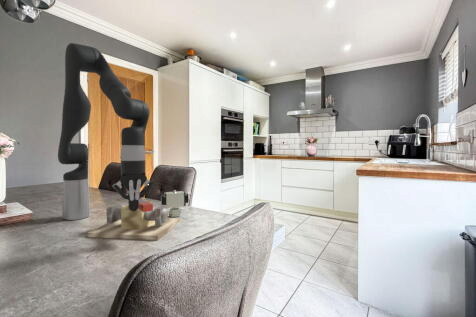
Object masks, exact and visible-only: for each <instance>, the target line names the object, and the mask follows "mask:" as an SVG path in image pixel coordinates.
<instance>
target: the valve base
mask: <svg viewBox="0 0 476 317" xmlns="http://www.w3.org/2000/svg"><path fill="white" fill-rule="evenodd" d="M105 208H106V209H105V210H106V224H103V225H101V226H99V227H97V228H94V229H93V230H90V231H88V232H87V238H103V239H104V238H105V239H121V240H122V239H126V240H127V239H128V240H141V241H142V240H143V241H144V240H147V241H159V240H160V239H161V238H162V237H163V236H165V235H166V234H167V233H168V232H170V231H171V230H172V229H174V227H176V226H177V225H178V224H179V223H181V218H180V217H169V210H168V208H167V205H161V204H160V205H159V206H157V207H155V208H154V207H153V211H147V212H142V211H141V210H140V209H139V208H138V209H137V211H131V210H130V209H129V205H128V204H126V205H123V206H122V203H115V204H111V205H110V206H107V207H105Z"/></svg>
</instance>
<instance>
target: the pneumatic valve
mask: <svg viewBox="0 0 476 317" xmlns="http://www.w3.org/2000/svg"><path fill="white" fill-rule="evenodd" d="M163 193H164V194H163V195H162V194H161V195H160V203H161V204H160V206H161V205H167V209H169V210H168V217H170V218H180V216H181V215H182V209H180V208H182V207H183V208H184V207H186V205H187V204H188V203H189V199H190V198H189V193H186V192H185V191H184V190H180V191H179V190H176V189H173V191H164V192H163Z"/></svg>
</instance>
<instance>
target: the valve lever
mask: <svg viewBox="0 0 476 317" xmlns="http://www.w3.org/2000/svg"><path fill="white" fill-rule="evenodd" d="M138 205H139V209H140V210H141V211H142V212H147V211H153V208H154V204H153V202H150V201H146V200H144V199H143V198H142V197H141V198H140V199H139V204H138Z"/></svg>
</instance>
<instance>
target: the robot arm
mask: <svg viewBox="0 0 476 317" xmlns="http://www.w3.org/2000/svg"><path fill="white" fill-rule="evenodd" d="M64 67H65V68H64V72H65V73H64V74H65V75H64V76H65V79H64V80H65V82H64V83H65V84H64V95H63V103H62V113H61V114H62V115H61V116H62V117H61V132H60V137H59V142H58V150H57V160H58V162H59V163H60V165H61V164H62V165H77V167H76V168H75V169H72V170H70V171H67V172H65V173H64V174H62V175H63V176H62V177H63V178H62V180H63V182H62V184H63V197H62V198H61V206H62V207H61V208H62V209H61V210H62V219H63V220H67V221H77V220H82V219H85V218H88V217H90V191H89V190H90V188H89V147H88V145H87V144H86V143H80V142H79V143H76V142H75V143H73V142H72V140H73V139H74V137H75V136H76V135H77V134H78V133H79V132H80V131H81V130H82V129H83V128H85V126H86V125H88V122H89V121H90V119H91V118H90V116H91V109H92V104H91V101H90V99H89V97H88V96H87V94H86V92H85V91H84V89H83V87H82V85H81V80H80V74H81V72H82V73H83V72H84V73H90V74H91V73H93V74H97V75H98V76H99V81H98V83H99V88H100V90H101V92H102V93H103V94H104V95H105V97H107V99H109V101H110V103H111V106H112V108H113V111H114V113H115V114H116V115H117V116H118V117H119V118H121V119H124V120H128V121H132V123H131V125H130V126H126V127H124V128H122V130H121V134H120V136H121V137H120V138H121V140H120V141H121V146H120V147H121V148H120V155H119V156H120V157H119V159H120V176H119V178H118V181H117V182H115V183H113V184H112V185H111V186H112V188H113V189H114V190H115V191H116V193H118V194H119V196H120V197H121V198H123V200H127V201H128V202H127V203H128V204H127V205H129V209H130V210H131V211H137V209H138V208H139V205H138V204H139V199H140V198H141V199H142V198H144V197H145V196H146V195H147V194H148V192H149V191H150V189H151V188H152V187H153V185H154V183H153V182H152V181H151V180H149V179H148V177H147V175H146V147H145V134H146V129H147V128H148V127H147V126H148V124H149V119H150V114H151V112H150V107H149V106H148V103H147V102H146V101H144V100H140V99H137V98H132V93H131V91H130V90H129V89H128V87H127V86H126V85H125V83H123V82H122V81H121V80H120V79H119V78H118V76H116V74H115V72H114V71H113V69H112V68H111V66H110V64H109V63H108V61H107V60H106V58H105V57H104V55H103V53H102V52H101V51H100V50H99V49H97V48H96V47H94V46H93V47H92V46H89V45H84V44H79V43H74V42H70V43H69V44H68V45H67V46H66V49H65V56H64ZM71 142H72V143H71ZM122 187H124V188H125V189H126V192H127V194H126V193H125V192H124V190H122ZM142 187H143V188H142ZM141 188H142V189H141Z"/></svg>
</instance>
